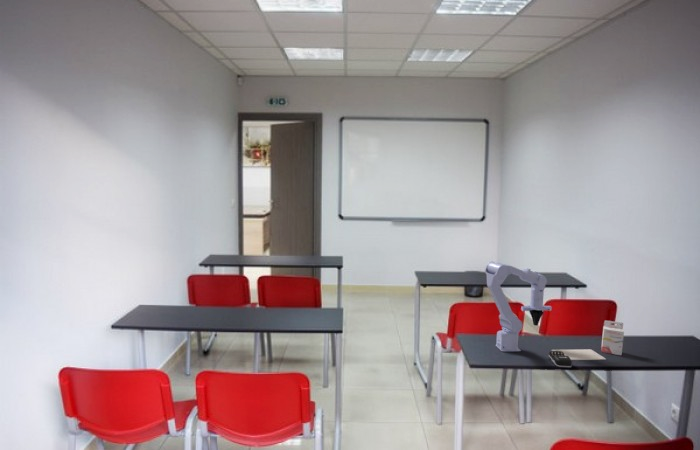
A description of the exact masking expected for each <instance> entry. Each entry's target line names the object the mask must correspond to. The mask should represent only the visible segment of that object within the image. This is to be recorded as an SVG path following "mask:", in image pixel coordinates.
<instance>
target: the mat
mask: <svg viewBox="0 0 700 450" xmlns="http://www.w3.org/2000/svg"><path fill="white" fill-rule="evenodd" d="M550 351H562V352H563V353H564V355H565V356H568V357H569V358H570V359H571V361H606V360H607V358H605V357H604V356H602V355H601V354H599V353H597V352H596V351H595V350H593V349H591V348H590V349H589V348H588V349H587V348H586V349H584V348H583V349H551V350H550Z"/></svg>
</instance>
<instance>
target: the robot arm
mask: <svg viewBox="0 0 700 450" xmlns="http://www.w3.org/2000/svg"><path fill="white" fill-rule="evenodd" d="M484 273H485V275H486V286H487V288H488V290H489V292H490V294H491V297H492V299H493V301H494V303H495V306H496V308H497V310H498V311H499V312H498V313H499V315H498V319H499V324H500V326H501V329H502V330H498V331H497V332H496V342H495V343H496V344H495V347H497V349H499V350H500V352H521V349H520V348H519V343H518V342H519V334H520V331H522V329H523V322H522V320H520V319H519V318H518V316H517V314H515V313H514V312H513V311H512V308H511V305H510V304H509V302H508V300H507V298H506V296H505V293H504V291H503V289H502V287H501V285H502V284H503V283H504V281H505V280H506V279H507V277H509V276H510V275H514V276H517V277H519V279H520V280H521V281H523V282H526V283H529V284H530V286H531V288H530V289H531V290H530V301H529V303H530V304H529V305H523V306H522V305H521V308H520V310H521V311H522V312H526V311H527V312H529V314H530V316H531V319H532V324H533V325H534V326H535V327H536V326H537V327H538V326H539V323H540V319H541V318H542V317H543V316H544V311H549V312H551V311H552V308H553V307H552V306H551V305H544V291H545V289H546V285H547V284H548V279H547V278H546V276H545V275H543V274H542V273H538V271H532V270H531V268H527V267H526V268H522V269H520V268H517V267H515V266H512V265H509V264H506V263H501V262H496V261H489V262H488V263H487V264H486V266H485V269H484Z"/></svg>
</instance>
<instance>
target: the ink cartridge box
mask: <svg viewBox="0 0 700 450" xmlns="http://www.w3.org/2000/svg"><path fill="white" fill-rule="evenodd" d="M623 328H624V323H623V322H620V321H612V320H606V319H605V320H604V322H603V326H602V336H601V337H602V338H601V347H600V350H601V353H604V354H605V353H606V354H610V355H611V354H613V355H616V356H617V355H618V356H622V353H623V344H624V337H625V336H624V334H625V332H624V331H625V330H624V329H623Z"/></svg>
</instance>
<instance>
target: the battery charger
mask: <svg viewBox="0 0 700 450" xmlns="http://www.w3.org/2000/svg"><path fill="white" fill-rule="evenodd" d="M548 358H549V360H551V362H552V363H553V364H554V365H555V367H557V368H560V369H563V368H564V369H572V366H573V365H572V364H573V362H572V361H573V360H571V359H570V358H569V357H568V356H565V355H564V353H563V352H562V351H551V350H550V351H549V353H548Z"/></svg>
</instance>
